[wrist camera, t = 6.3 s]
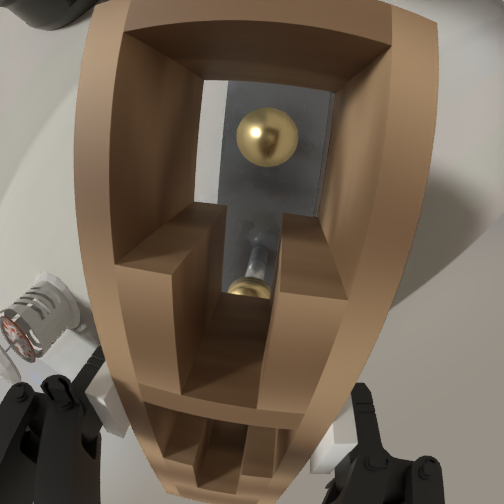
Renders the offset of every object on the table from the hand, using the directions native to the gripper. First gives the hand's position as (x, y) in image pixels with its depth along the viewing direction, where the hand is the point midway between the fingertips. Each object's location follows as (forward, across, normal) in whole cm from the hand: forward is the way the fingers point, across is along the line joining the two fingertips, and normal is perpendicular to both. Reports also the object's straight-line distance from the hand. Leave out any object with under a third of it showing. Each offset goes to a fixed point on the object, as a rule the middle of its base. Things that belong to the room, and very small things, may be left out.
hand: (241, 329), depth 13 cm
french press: (+13, -29, -14) cm, 35 cm away
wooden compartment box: (0, 0, 0) cm, 0 cm away
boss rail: (+13, 0, +4) cm, 14 cm away
